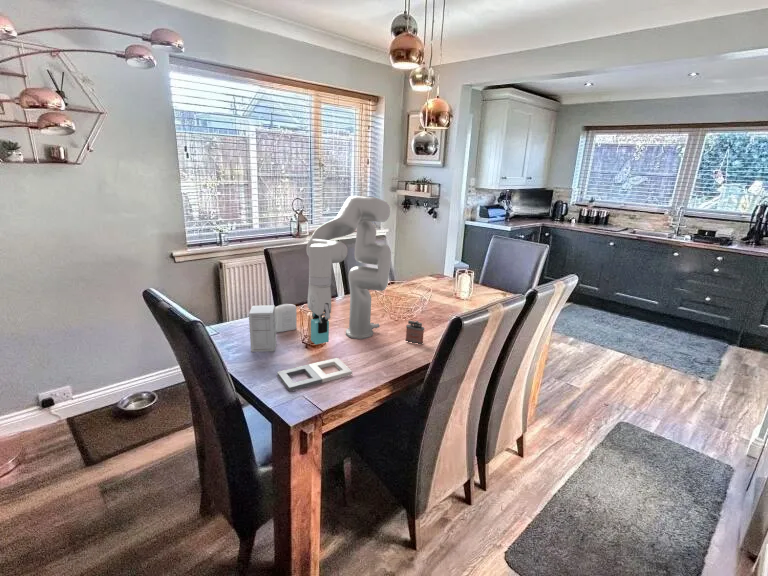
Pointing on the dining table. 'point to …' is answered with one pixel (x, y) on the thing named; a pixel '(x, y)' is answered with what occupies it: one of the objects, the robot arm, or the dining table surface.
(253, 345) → the supplement box
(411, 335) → the lighter
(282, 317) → the grey toy tombstone
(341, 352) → the dining table surface
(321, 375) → the panel
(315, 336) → the plug
